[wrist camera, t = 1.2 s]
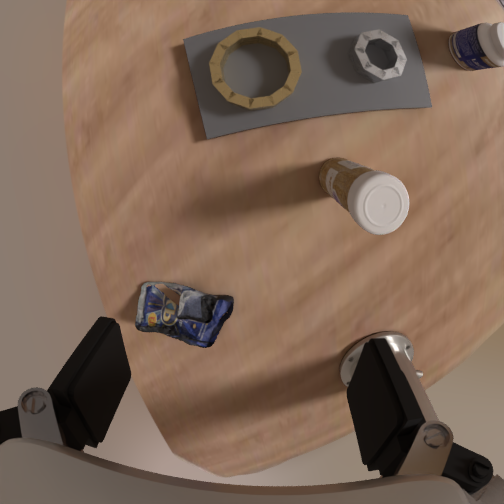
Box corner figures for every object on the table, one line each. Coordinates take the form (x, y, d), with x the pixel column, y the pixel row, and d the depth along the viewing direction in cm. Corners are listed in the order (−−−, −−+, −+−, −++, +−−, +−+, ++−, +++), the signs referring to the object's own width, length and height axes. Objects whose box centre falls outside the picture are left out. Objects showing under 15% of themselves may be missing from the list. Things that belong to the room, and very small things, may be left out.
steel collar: (401, 52, 24) (410, 48, 22) (387, 90, 26) (396, 87, 24) (358, 28, 23) (365, 21, 21) (342, 66, 25) (349, 61, 23)
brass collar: (309, 52, 25) (312, 46, 23) (279, 121, 28) (281, 120, 26) (232, 26, 24) (230, 18, 22) (202, 94, 27) (197, 91, 25)
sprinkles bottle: (310, 178, 32) (341, 209, 19) (336, 148, 30) (383, 160, 18) (339, 204, 33) (383, 248, 20) (364, 175, 31) (422, 203, 19)
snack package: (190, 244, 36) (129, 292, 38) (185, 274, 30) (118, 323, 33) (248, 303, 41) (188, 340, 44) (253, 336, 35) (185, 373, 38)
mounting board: (402, 18, 23) (407, 15, 22) (425, 107, 27) (432, 107, 26) (186, 42, 26) (183, 39, 24) (209, 138, 30) (207, 139, 29)
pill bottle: (455, 71, 25) (504, 63, 16) (441, 32, 23) (486, 14, 14) (482, 70, 24) (530, 65, 15) (469, 33, 22) (513, 20, 13)
